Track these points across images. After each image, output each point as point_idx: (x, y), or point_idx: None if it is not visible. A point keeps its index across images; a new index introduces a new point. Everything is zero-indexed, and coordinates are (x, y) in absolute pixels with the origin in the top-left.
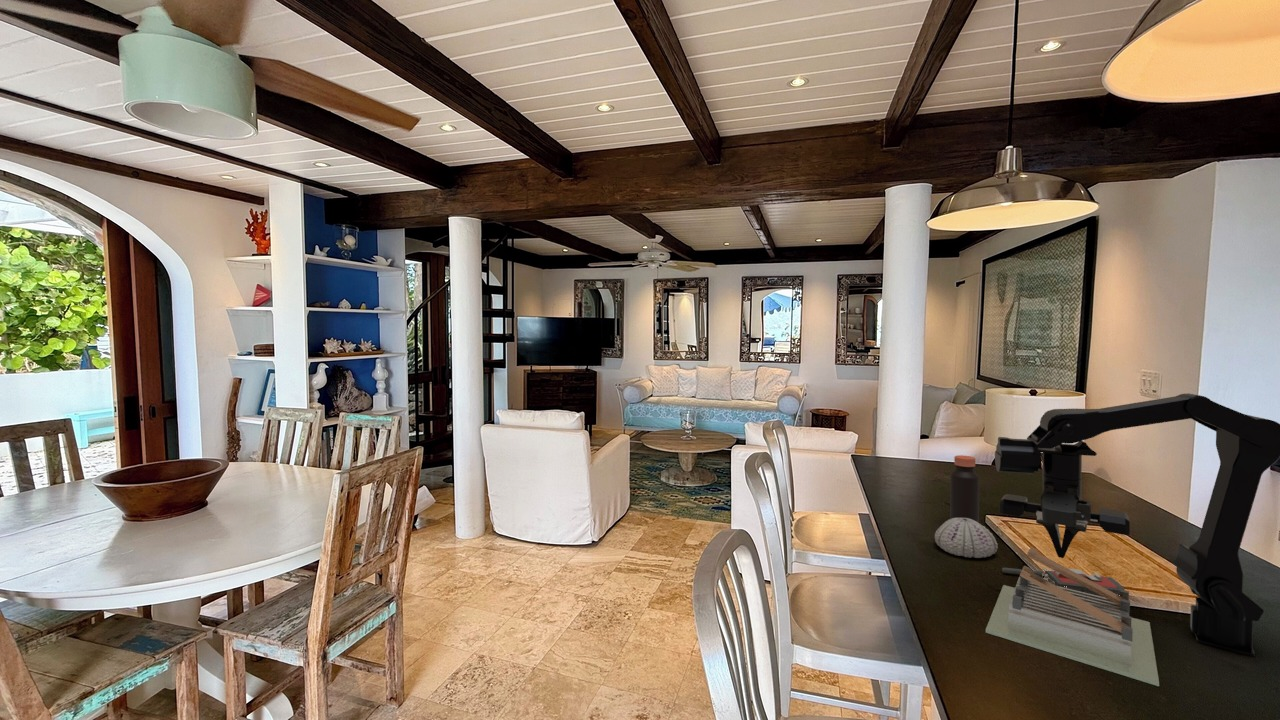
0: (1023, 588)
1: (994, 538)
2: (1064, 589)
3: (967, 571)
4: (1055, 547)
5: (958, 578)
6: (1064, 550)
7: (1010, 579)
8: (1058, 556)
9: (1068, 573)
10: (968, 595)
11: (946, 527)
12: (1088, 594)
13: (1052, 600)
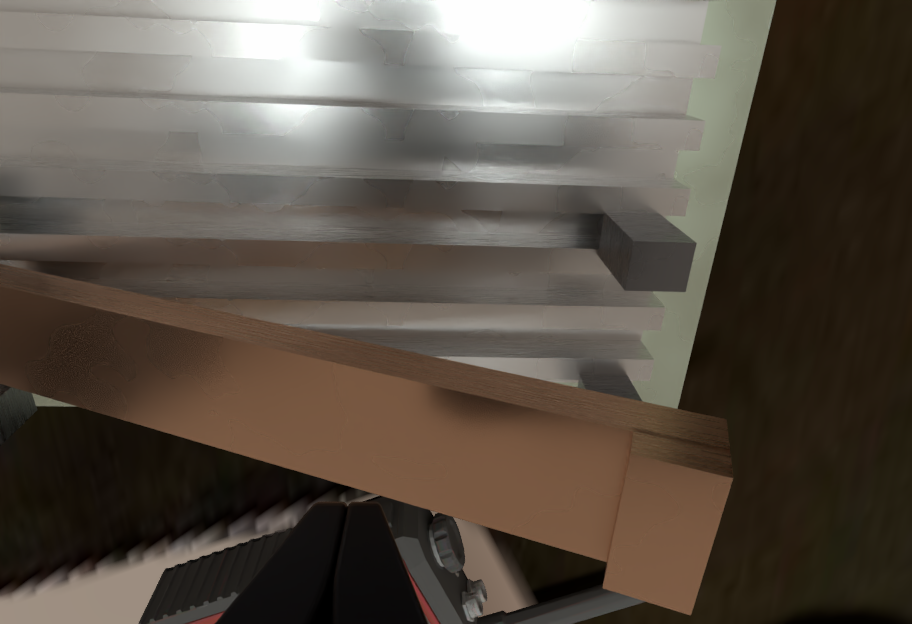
0: (633, 183)
1: None
2: None
3: (831, 492)
4: (405, 610)
5: (900, 376)
6: (271, 591)
7: None
8: (374, 506)
9: (290, 356)
10: (889, 162)
11: None
12: None
13: (425, 32)
